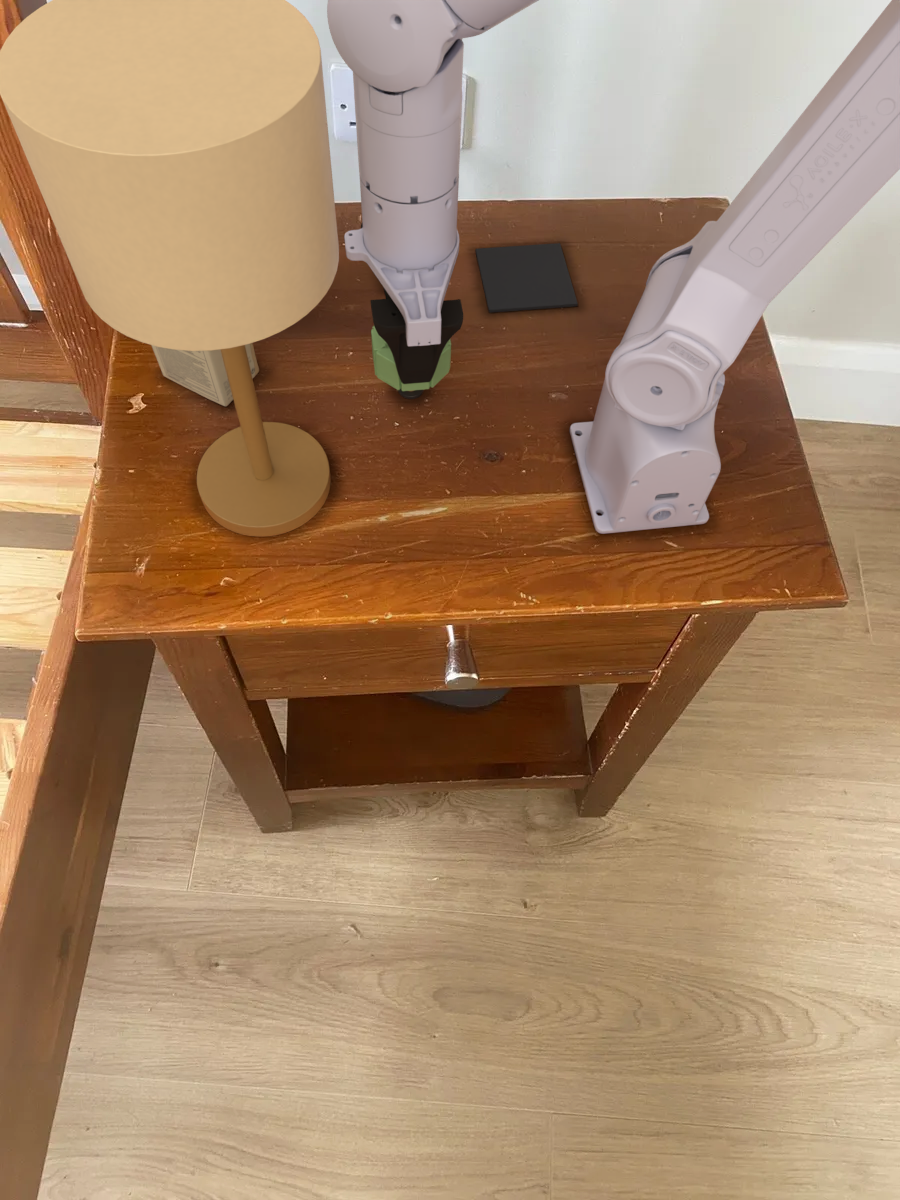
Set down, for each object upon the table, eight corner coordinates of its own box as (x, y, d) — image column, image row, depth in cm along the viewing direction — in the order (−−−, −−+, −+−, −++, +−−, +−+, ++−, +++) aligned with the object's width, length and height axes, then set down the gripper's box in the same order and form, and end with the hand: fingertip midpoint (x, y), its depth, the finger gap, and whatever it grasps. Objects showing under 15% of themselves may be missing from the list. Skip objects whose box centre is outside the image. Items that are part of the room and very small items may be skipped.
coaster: (577, 306, 71) (577, 303, 71) (488, 312, 70) (489, 310, 70) (559, 245, 74) (560, 242, 74) (475, 251, 74) (475, 248, 73)
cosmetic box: (261, 372, 66) (232, 235, 56) (225, 411, 64) (187, 276, 54) (194, 339, 68) (153, 199, 57) (156, 376, 66) (107, 238, 55)
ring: (453, 387, 63) (454, 362, 60) (377, 393, 62) (376, 368, 60) (443, 332, 65) (444, 306, 63) (370, 338, 65) (368, 311, 62)
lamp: (367, 552, 59) (331, 145, 34) (169, 571, 58) (-24, 164, 32) (351, 404, 65) (311, -34, 40) (171, 418, 64) (12, -24, 39)
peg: (425, 398, 66) (426, 353, 62) (398, 400, 66) (397, 356, 62) (422, 378, 67) (422, 333, 63) (396, 380, 66) (394, 335, 63)
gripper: (330, 100, 54) (346, 280, 65) (349, 263, 47) (363, 431, 58) (445, 94, 54) (440, 273, 66) (481, 254, 47) (468, 422, 59)
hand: (411, 347), depth 62 cm, fingers closed on ring, 5 cm apart
